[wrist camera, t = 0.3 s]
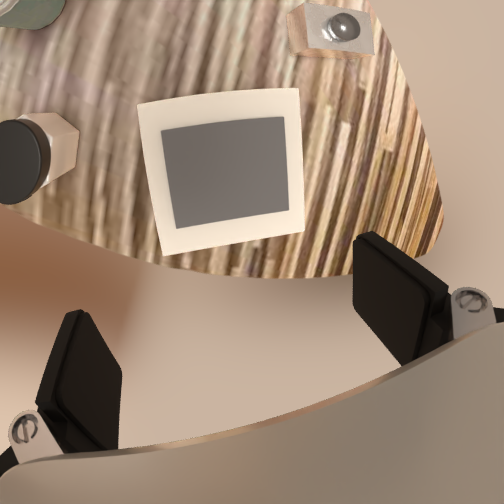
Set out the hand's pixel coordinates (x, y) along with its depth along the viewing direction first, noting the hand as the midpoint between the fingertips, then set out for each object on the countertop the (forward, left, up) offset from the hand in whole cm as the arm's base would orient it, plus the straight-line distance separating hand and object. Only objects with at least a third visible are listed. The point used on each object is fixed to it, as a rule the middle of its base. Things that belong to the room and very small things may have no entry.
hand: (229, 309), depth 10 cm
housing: (-16, +19, -30) cm, 39 cm away
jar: (-6, -17, -30) cm, 36 cm away
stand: (0, +4, -30) cm, 30 cm away
